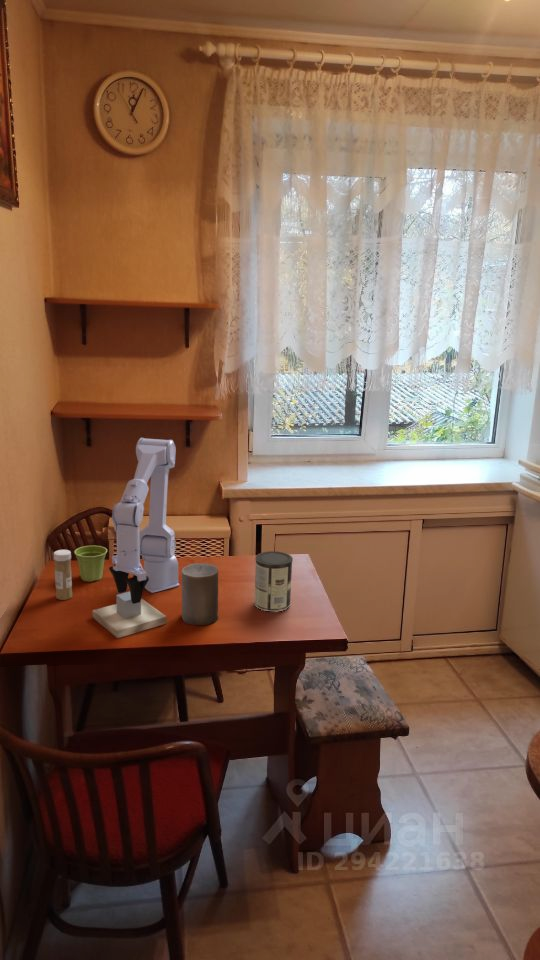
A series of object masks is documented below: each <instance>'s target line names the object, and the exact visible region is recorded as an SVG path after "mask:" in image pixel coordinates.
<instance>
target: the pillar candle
mask: <svg viewBox="0 0 540 960" xmlns="http://www.w3.org/2000/svg"><path fill="white" fill-rule="evenodd" d="M218 612H219V569H218V567H217V566H216V565H214V564H210V563H203V562H201V563H199V562H198V563H192V564H187V565H186V566H184V567H183V568H182V569H181V618H182V620H183V622H184V623H186V624H188V625H192V626H206V625H207V626H208V625H210V624H213V623H215V622H217V621H218V618H219V613H218Z"/></svg>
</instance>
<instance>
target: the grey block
mask: <svg viewBox="0 0 540 960" xmlns="http://www.w3.org/2000/svg"><path fill="white" fill-rule="evenodd" d="M116 604H117V613H118V614H119V615H120V616H122V617H123V618H124V619H127V618H131V617H134V616H137V615H141V601H140V602H139V603H135V604H133V603H132V601H131V594H130V590H129V591H126V592H122V593H118V594H116Z"/></svg>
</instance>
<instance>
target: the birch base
mask: <svg viewBox="0 0 540 960" xmlns="http://www.w3.org/2000/svg"><path fill="white" fill-rule="evenodd" d="M92 618H93V619H94V620H95V621H97V622H98V624H100V625H101V626H102V627H104V628H105V629H106V630H107V631H108V632H110V633H111V634H112V635H113V636H114V637H115V638H117V639H121V638H124V637H127V636H130V635H133V634H136V633H141V632H144V631H146V630H149V629H152V628H153V629H154V628H157V627H159V626H160V627H161V626H163V625H166V624H167V615H165V614H164V613H162V612H161V611H160V610H158V609H157V608H155V607H154V606H153V605H151V604H150V603H149V602H147V601H146V600H144V599H143V598H141V615H137V616H134V617H131V618H127V619H124V618H123V617H122V616H120V615H119V614H118V613H117V604H115V603H114V604H111V605H108V606H107V605H106V606H103V607H100V608H99V607H98V608H97V609H92Z"/></svg>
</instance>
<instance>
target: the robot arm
mask: <svg viewBox="0 0 540 960" xmlns="http://www.w3.org/2000/svg"><path fill="white" fill-rule="evenodd" d="M176 449H177V448H176V444H175V443H174V440H173V439H158V438H156V439H155V438H144V437H140V438H139V439H138V440H137V443H136V445H135V455H136V459H137V462H138V463H137V465H136V468H135V469H136V470H135V473H134V476H133V479H130V480H129V481H128V482H127V483H126V486H125V489H124V491H123V493H122V496H121V499H120V501H119V502H117V503H116V504H114V506H113V509H112V512H111V513H112V515H111V521H112V524H113V528H114V532H116V533H115V534H116V535H115V536H116V555H112V556H111V563H112V564H113V565H112V566H109V568H108V570H109V572H110V573H111V575H112V578H113V580H114V583H115V586H116V590H117V592H118V594H122V593H125V592H127V590H128V589H129V591H130V594H131V601H132V603H133V604H135V603H139V602H140V601H141V599H143V598H142V596H143V593H144V590H147V591H148V592H150V593H152V594H155V593H157V592H161V591H165V590H168V589H172V588H177V587H179V586H180V583H179V562H178V558H177V557H176V556H175V551H176V545H177V544H176V539H175V538H176V534H175V531H174V530H173V529H172V528H170V527H169V526H168V525H167V524H166V523H167V521H166V520H167V508H168V507H167V505H168V504H167V503H168V486H169V485H168V484H169V473H170V469H174V468H175V465H176V454H177V453H176V452H177V451H176ZM149 480H150V488H149V486H148V483H149ZM149 490H150V492H149ZM149 493H150V496H149V512H148V514H149V515H148V524H147V525H146V526H144V527H143V528H142V529H140V526H141V524H142V522H143V518H144V511H145V506H144V504H145V502H146V498H147V497H148V496H147V495H148V494H149ZM141 557H142V558H141ZM141 559H143V560H144V561H143V563H144V566H142V563H141ZM143 567H144V568H143ZM129 574H130V575H132V577H129Z"/></svg>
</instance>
